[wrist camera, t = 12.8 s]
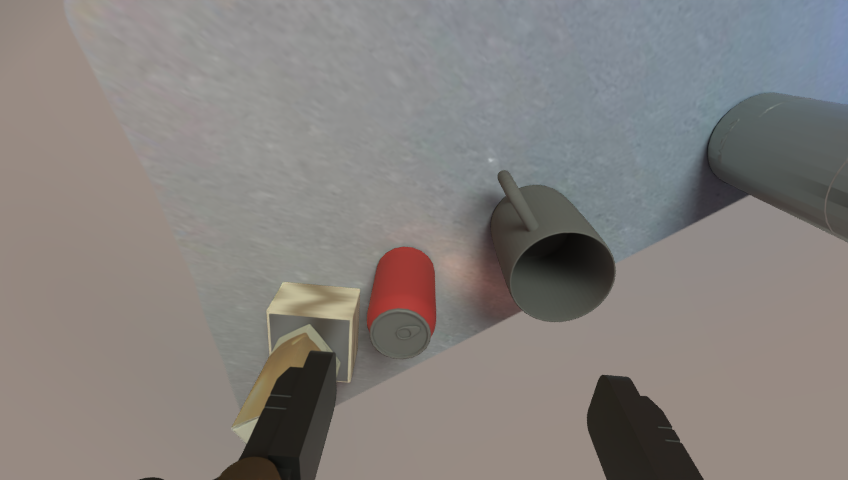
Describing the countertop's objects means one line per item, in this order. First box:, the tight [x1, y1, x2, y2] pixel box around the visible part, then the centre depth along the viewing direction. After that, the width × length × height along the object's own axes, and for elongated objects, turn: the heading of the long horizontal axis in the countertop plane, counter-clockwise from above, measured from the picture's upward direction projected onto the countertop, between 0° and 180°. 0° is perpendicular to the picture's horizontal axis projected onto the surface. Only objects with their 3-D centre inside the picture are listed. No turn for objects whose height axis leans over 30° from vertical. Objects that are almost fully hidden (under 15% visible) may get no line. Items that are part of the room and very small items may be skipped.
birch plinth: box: [267, 282, 360, 383], centre depth 50 cm, size 9×9×6 cm
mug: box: [491, 170, 616, 322], centre depth 41 cm, size 14×9×12 cm
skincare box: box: [231, 324, 340, 444], centre depth 41 cm, size 6×4×12 cm
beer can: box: [367, 247, 436, 359], centre depth 44 cm, size 7×7×12 cm
